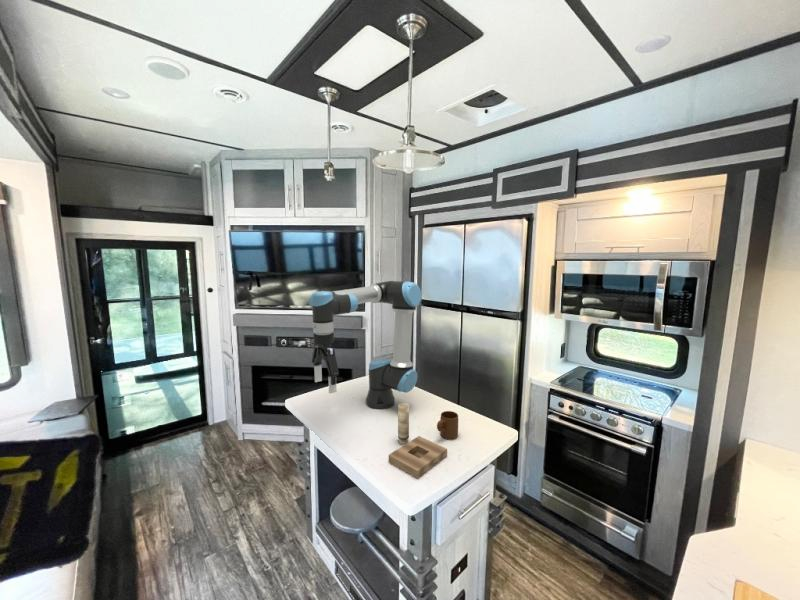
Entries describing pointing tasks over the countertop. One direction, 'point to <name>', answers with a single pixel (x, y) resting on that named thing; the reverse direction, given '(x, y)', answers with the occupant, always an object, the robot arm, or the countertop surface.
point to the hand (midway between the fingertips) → (325, 386)
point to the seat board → (417, 456)
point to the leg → (403, 423)
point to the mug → (448, 425)
